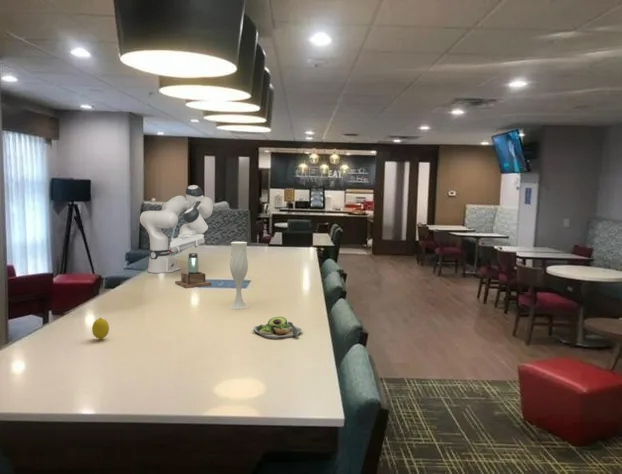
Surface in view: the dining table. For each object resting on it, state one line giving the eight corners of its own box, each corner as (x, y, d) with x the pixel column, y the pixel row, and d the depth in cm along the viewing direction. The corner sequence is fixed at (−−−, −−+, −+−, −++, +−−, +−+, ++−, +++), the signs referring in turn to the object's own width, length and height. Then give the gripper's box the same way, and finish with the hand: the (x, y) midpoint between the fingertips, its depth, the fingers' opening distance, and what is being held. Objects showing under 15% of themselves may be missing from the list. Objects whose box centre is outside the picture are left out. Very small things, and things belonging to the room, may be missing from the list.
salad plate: (314, 336, 191) (314, 324, 191) (274, 344, 181) (274, 331, 180) (286, 324, 207) (286, 313, 206) (247, 331, 196) (247, 319, 196)
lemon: (111, 340, 181) (111, 318, 180) (96, 343, 177) (95, 320, 176) (105, 336, 185) (105, 315, 184) (90, 339, 181) (89, 317, 180)
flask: (188, 281, 286) (188, 253, 285) (198, 281, 287) (198, 253, 285) (187, 282, 281) (187, 254, 279) (197, 282, 281) (197, 254, 280)
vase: (250, 305, 237) (250, 241, 234) (246, 309, 229) (246, 243, 226) (231, 304, 238) (231, 241, 235) (227, 308, 230) (227, 243, 227)
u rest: (175, 283, 286) (175, 272, 285) (199, 281, 295) (199, 270, 294) (186, 288, 274) (185, 276, 273) (211, 285, 283) (211, 273, 282)
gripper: (205, 238, 309) (206, 247, 296) (172, 248, 306) (172, 258, 294) (202, 229, 306) (203, 238, 294) (169, 239, 303) (169, 248, 291)
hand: (187, 248), depth 294 cm, fingers open, 8 cm apart
